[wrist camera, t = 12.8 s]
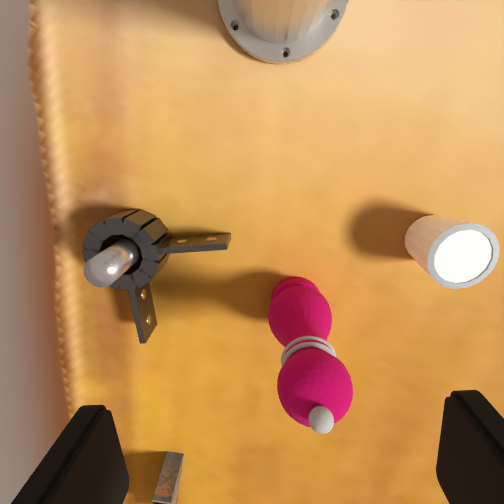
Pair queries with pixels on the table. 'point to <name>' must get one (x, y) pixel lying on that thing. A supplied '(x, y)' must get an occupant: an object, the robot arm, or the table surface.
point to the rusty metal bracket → (169, 479)
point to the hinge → (145, 256)
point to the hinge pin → (112, 262)
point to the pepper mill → (308, 356)
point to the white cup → (452, 250)
